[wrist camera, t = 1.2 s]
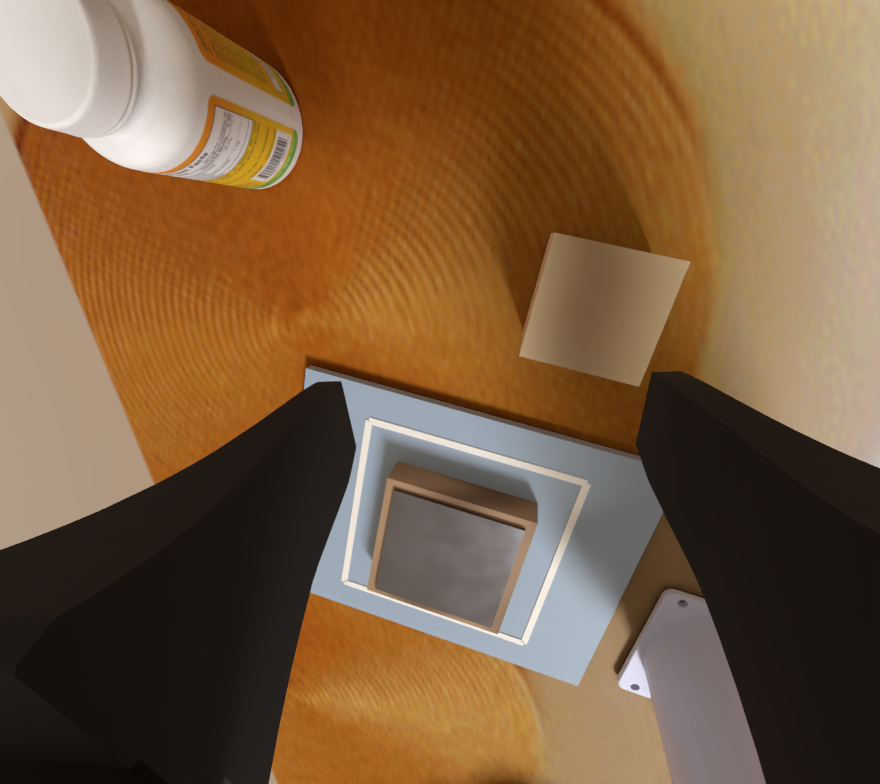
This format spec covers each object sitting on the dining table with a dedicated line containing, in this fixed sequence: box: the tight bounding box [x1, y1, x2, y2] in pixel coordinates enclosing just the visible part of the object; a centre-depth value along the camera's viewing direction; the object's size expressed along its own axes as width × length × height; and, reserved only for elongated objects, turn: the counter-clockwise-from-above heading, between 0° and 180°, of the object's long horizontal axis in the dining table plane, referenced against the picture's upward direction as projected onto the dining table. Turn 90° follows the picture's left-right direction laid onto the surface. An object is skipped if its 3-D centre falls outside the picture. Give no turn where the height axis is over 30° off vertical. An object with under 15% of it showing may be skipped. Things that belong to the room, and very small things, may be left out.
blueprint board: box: [304, 365, 663, 686], centre depth 24 cm, size 20×16×3 cm
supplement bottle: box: [0, 0, 303, 189], centre depth 16 cm, size 5×5×10 cm
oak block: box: [519, 232, 690, 387], centre depth 17 cm, size 4×4×5 cm
